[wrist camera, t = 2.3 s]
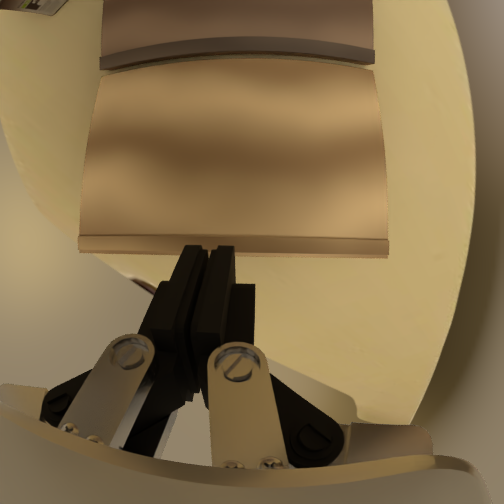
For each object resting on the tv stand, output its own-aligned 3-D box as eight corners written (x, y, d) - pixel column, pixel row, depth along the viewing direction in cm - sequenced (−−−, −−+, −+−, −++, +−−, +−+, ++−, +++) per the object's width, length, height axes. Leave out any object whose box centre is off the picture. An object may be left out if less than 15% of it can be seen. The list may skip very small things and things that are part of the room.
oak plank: (110, 85, 16) (100, 75, 14) (365, 81, 16) (373, 69, 14) (91, 251, 16) (78, 252, 15) (377, 256, 16) (388, 258, 15)
